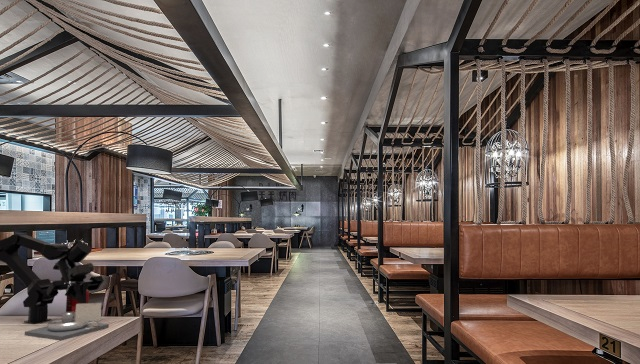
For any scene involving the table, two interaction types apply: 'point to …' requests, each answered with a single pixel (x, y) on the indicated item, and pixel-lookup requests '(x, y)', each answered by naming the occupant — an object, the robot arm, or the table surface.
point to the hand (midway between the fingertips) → (84, 303)
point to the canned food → (74, 303)
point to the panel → (63, 335)
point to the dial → (77, 317)
